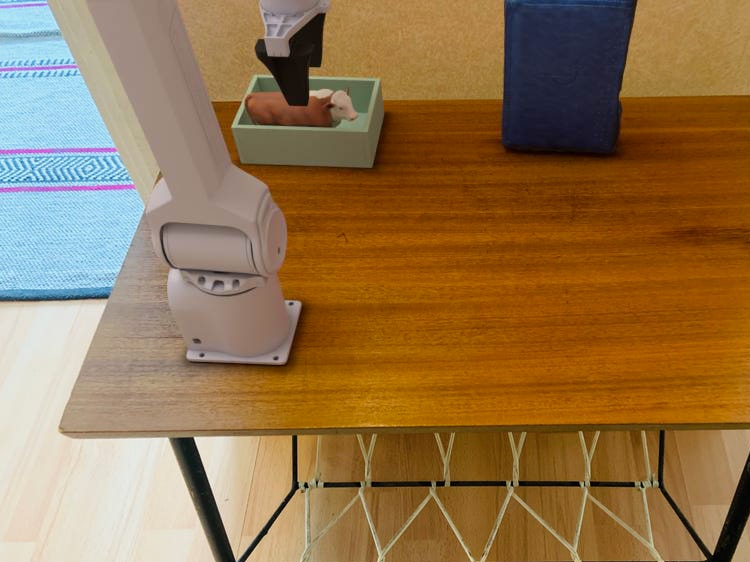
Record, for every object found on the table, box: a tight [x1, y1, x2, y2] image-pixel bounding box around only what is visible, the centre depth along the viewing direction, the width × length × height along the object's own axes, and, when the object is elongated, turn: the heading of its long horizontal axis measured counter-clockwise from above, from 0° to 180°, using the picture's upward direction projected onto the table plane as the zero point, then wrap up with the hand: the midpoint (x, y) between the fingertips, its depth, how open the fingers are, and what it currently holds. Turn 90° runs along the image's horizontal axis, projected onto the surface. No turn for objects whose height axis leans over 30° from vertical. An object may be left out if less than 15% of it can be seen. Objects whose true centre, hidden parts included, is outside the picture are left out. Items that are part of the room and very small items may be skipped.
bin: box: [230, 74, 385, 169], centre depth 94 cm, size 16×11×5 cm
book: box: [500, 0, 639, 155], centre depth 87 cm, size 14×5×20 cm, turn 86°
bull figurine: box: [244, 87, 358, 128], centre depth 90 cm, size 4×13×8 cm, turn 82°
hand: (305, 84), depth 84 cm, fingers open, 7 cm apart
